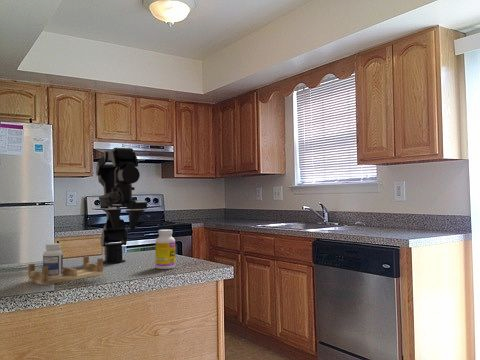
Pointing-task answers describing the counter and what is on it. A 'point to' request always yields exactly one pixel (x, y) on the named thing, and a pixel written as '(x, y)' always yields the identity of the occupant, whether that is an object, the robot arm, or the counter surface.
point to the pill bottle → (53, 260)
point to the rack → (66, 272)
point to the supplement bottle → (165, 250)
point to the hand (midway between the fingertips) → (123, 230)
